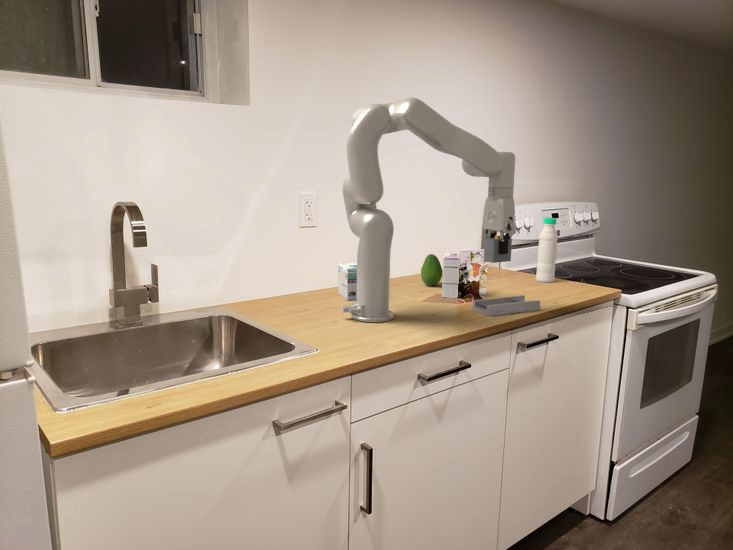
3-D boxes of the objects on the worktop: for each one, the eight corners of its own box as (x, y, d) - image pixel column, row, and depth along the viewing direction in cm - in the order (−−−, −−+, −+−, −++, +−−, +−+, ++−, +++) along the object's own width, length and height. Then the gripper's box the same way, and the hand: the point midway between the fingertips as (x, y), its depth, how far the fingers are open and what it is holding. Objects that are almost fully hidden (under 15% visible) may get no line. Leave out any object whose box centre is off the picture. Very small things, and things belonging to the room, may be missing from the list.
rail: (489, 316, 167) (490, 306, 167) (471, 309, 175) (472, 300, 175) (540, 310, 176) (541, 300, 176) (521, 303, 184) (521, 294, 183)
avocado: (417, 286, 207) (419, 254, 204) (424, 282, 214) (425, 251, 212) (438, 288, 204) (440, 256, 201) (444, 284, 211) (445, 253, 209)
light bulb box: (366, 299, 186) (366, 267, 183) (346, 301, 183) (347, 268, 181) (355, 292, 195) (356, 262, 193) (337, 293, 193) (337, 263, 191)
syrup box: (458, 298, 189) (460, 256, 186) (441, 297, 190) (443, 255, 188) (459, 295, 195) (461, 253, 192) (442, 293, 196) (444, 253, 193)
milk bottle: (556, 282, 218) (562, 218, 214) (538, 282, 218) (543, 218, 214) (551, 279, 225) (556, 217, 220) (533, 278, 225) (538, 216, 220)
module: (492, 262, 171) (494, 237, 169) (483, 260, 174) (484, 235, 173) (510, 261, 174) (512, 236, 172) (501, 258, 178) (502, 234, 176)
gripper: (473, 192, 176) (471, 249, 179) (509, 195, 161) (506, 257, 165) (492, 191, 179) (489, 248, 183) (529, 194, 164) (525, 256, 168)
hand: (497, 252), depth 174 cm, fingers closed on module, 4 cm apart
